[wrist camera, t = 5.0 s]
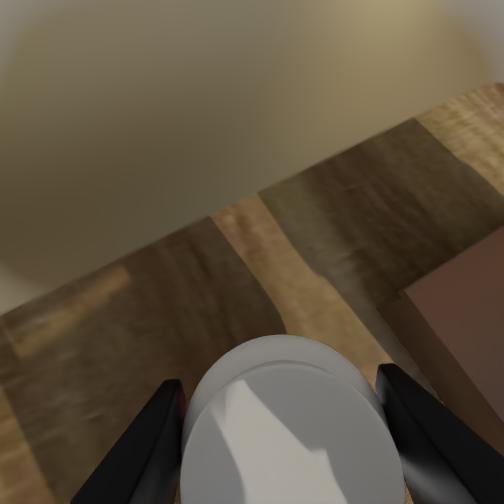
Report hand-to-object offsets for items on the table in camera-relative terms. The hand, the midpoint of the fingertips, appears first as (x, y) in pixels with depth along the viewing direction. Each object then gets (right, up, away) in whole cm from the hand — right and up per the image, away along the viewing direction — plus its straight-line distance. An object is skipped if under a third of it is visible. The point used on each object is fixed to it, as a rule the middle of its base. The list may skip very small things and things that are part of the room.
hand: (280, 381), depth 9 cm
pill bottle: (0, -3, +6) cm, 7 cm away
